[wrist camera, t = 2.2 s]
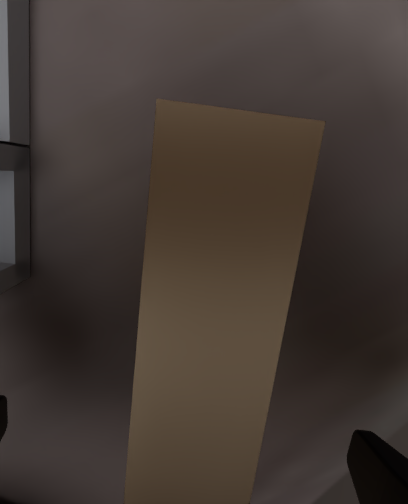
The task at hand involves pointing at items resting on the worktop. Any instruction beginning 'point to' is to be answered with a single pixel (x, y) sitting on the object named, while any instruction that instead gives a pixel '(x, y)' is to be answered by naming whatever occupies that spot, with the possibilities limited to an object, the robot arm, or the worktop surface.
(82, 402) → the worktop surface
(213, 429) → the door panel
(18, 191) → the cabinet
